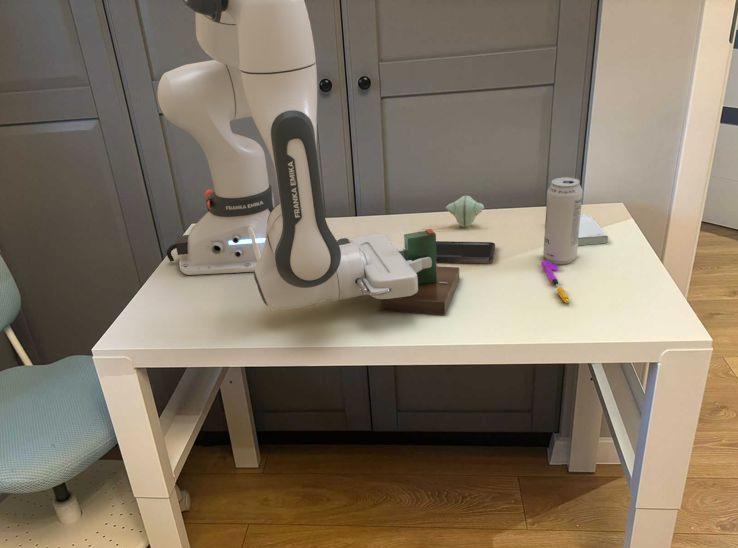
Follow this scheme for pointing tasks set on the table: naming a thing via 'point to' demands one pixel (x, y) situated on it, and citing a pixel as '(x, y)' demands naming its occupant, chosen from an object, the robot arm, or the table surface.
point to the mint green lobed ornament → (465, 210)
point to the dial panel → (428, 295)
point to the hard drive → (590, 231)
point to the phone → (465, 252)
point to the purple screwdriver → (554, 278)
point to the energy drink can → (562, 220)
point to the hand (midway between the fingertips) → (427, 256)
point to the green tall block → (422, 253)
